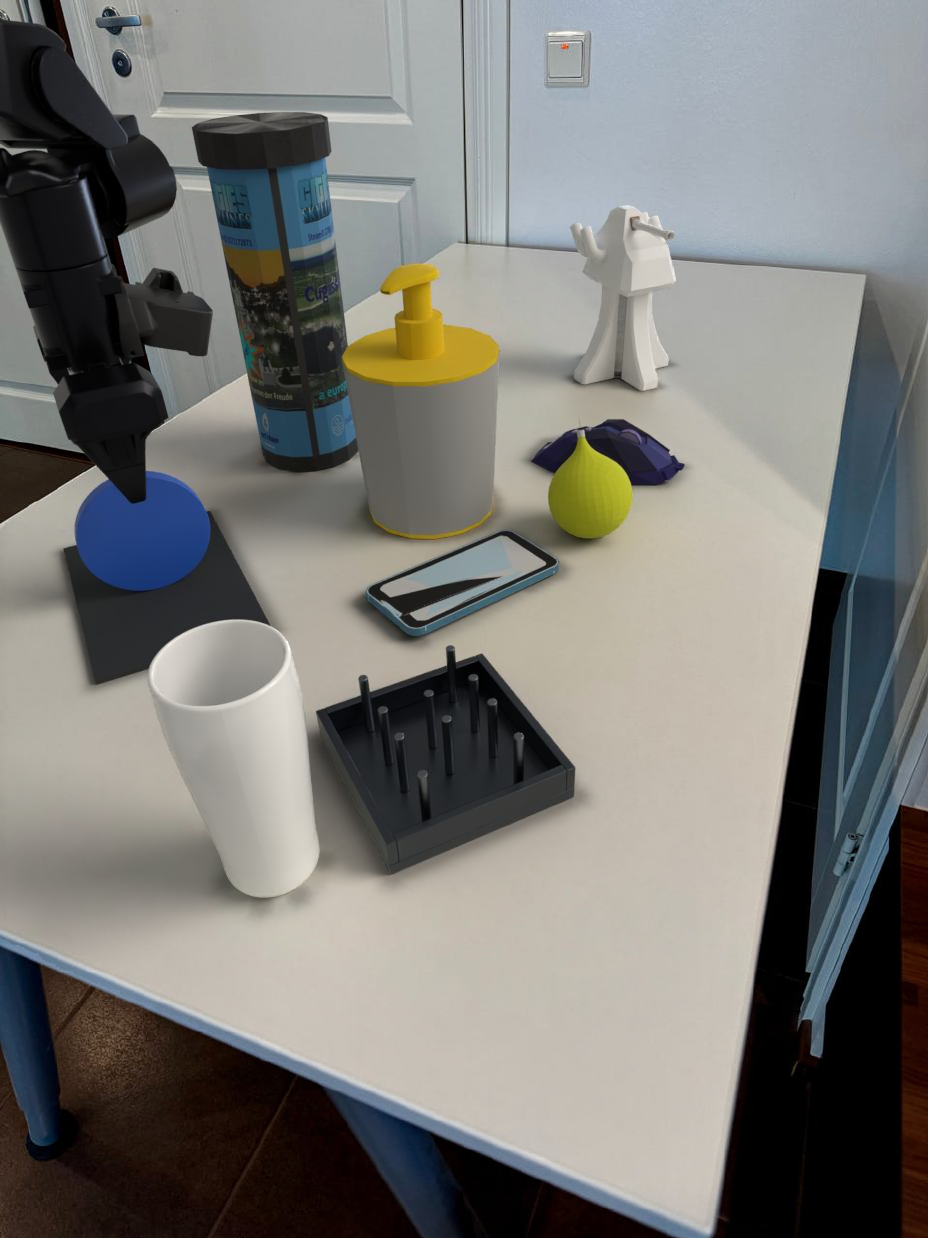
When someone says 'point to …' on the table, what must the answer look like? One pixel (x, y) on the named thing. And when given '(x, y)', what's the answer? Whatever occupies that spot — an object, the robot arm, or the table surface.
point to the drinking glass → (241, 748)
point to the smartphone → (460, 581)
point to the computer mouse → (616, 451)
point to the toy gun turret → (625, 296)
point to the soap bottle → (424, 415)
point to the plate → (142, 534)
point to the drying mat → (157, 608)
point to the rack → (442, 759)
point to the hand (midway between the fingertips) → (127, 474)
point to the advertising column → (283, 280)
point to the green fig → (589, 493)
